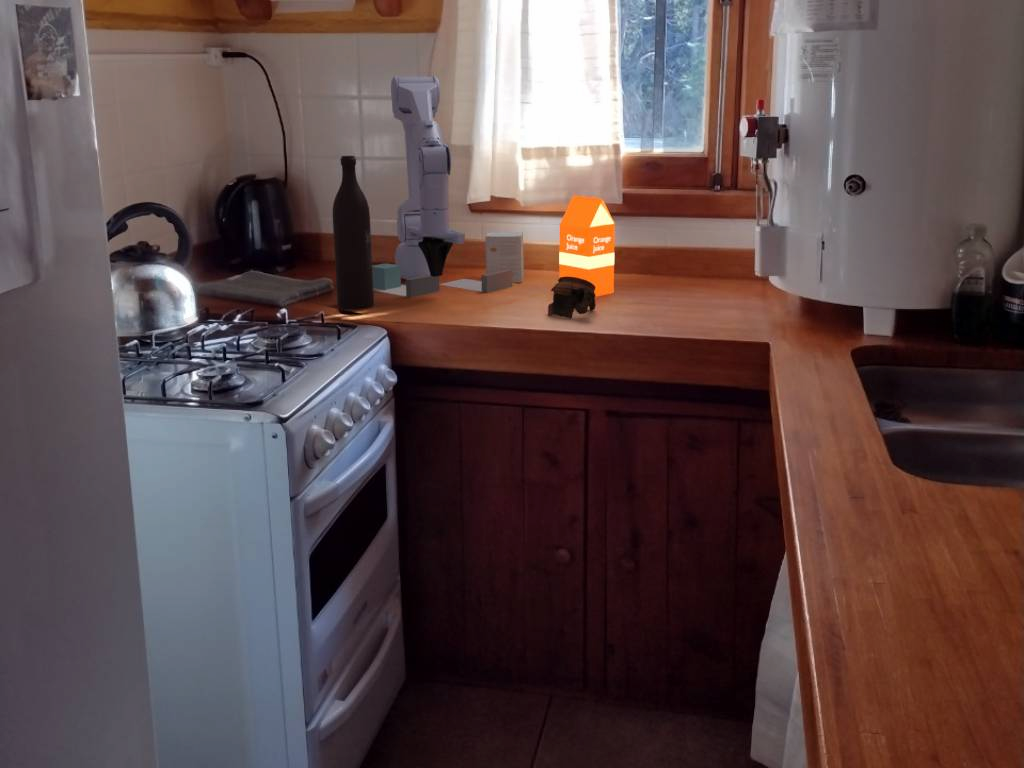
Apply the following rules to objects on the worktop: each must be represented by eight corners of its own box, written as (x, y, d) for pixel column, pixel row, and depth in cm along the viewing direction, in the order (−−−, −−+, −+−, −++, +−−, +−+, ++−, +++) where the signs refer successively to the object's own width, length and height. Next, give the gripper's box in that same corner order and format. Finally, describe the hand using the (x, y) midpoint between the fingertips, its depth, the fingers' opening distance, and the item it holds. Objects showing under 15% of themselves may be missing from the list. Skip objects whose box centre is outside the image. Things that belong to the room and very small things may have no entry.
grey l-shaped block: (438, 288, 228) (438, 268, 226) (464, 283, 233) (464, 262, 232) (487, 297, 219) (486, 275, 217) (512, 291, 225) (512, 270, 223)
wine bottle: (375, 314, 206) (367, 157, 197) (338, 316, 205) (329, 158, 196) (373, 307, 212) (366, 154, 204) (337, 308, 211) (329, 155, 203)
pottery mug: (535, 315, 206) (545, 275, 208) (573, 331, 211) (584, 292, 212) (569, 310, 196) (580, 269, 197) (609, 327, 201) (619, 287, 202)
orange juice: (588, 298, 219) (589, 200, 213) (558, 291, 225) (558, 196, 219) (614, 292, 224) (616, 197, 218) (584, 286, 230) (585, 193, 224)
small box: (524, 278, 240) (523, 231, 237) (522, 283, 234) (521, 235, 231) (488, 278, 240) (488, 231, 237) (485, 283, 235) (485, 235, 232)
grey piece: (353, 291, 226) (351, 270, 225) (381, 285, 232) (380, 264, 231) (411, 302, 215) (410, 280, 214) (439, 295, 221) (438, 274, 219)
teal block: (370, 287, 225) (369, 266, 224) (386, 284, 228) (385, 263, 227) (385, 289, 222) (384, 268, 221) (400, 286, 225) (400, 265, 224)
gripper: (394, 207, 212) (397, 274, 216) (446, 213, 203) (448, 283, 207) (419, 203, 217) (422, 269, 221) (471, 209, 208) (473, 277, 212)
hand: (436, 275), depth 214 cm, fingers closed
